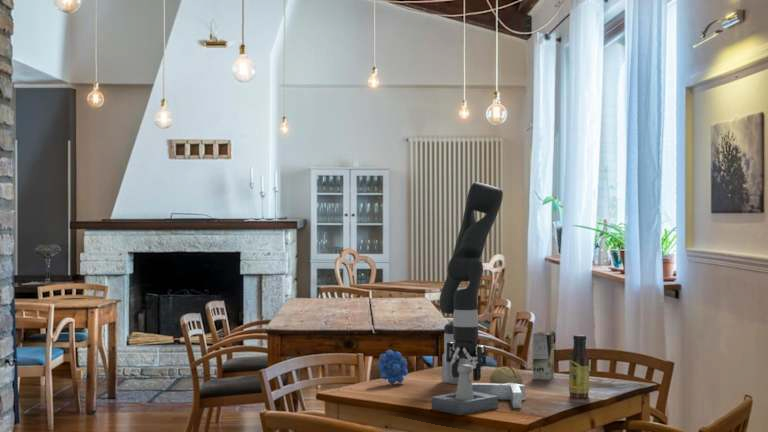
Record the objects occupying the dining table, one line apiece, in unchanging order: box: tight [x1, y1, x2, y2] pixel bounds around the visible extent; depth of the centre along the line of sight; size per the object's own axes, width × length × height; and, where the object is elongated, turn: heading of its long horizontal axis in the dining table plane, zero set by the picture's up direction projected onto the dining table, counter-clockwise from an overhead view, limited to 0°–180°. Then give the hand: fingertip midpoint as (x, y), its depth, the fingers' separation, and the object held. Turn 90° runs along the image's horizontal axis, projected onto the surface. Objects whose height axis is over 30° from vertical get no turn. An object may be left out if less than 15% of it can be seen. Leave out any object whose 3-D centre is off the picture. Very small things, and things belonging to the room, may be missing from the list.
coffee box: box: [532, 331, 555, 381], centre depth 302 cm, size 9×6×16 cm
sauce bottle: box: [568, 333, 590, 399], centre depth 267 cm, size 7×6×20 cm
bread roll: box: [489, 366, 524, 385], centre depth 277 cm, size 10×15×8 cm, turn 17°
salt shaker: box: [455, 364, 474, 401], centre depth 249 cm, size 6×6×13 cm
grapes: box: [376, 349, 409, 385], centre depth 287 cm, size 12×7×12 cm, turn 115°
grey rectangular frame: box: [430, 391, 499, 416], centre depth 249 cm, size 12×16×4 cm
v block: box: [471, 382, 526, 409], centre depth 260 cm, size 12×20×4 cm, turn 40°
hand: (465, 378), depth 249 cm, fingers open, 8 cm apart
